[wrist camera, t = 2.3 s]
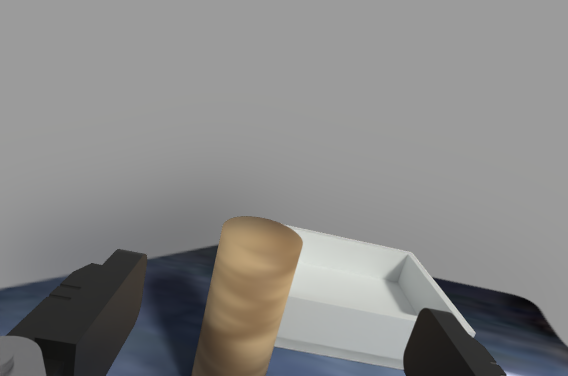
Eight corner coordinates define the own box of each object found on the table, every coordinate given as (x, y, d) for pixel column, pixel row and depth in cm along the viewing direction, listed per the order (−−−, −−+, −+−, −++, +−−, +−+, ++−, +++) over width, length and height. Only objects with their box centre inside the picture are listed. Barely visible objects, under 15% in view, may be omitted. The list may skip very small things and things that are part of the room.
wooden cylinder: (181, 411, 23) (216, 243, 19) (197, 353, 27) (227, 210, 24) (258, 424, 23) (306, 262, 20) (261, 364, 28) (299, 226, 24)
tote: (258, 343, 30) (272, 293, 29) (263, 258, 44) (273, 222, 42) (453, 379, 32) (475, 332, 30) (398, 286, 46) (411, 252, 44)
